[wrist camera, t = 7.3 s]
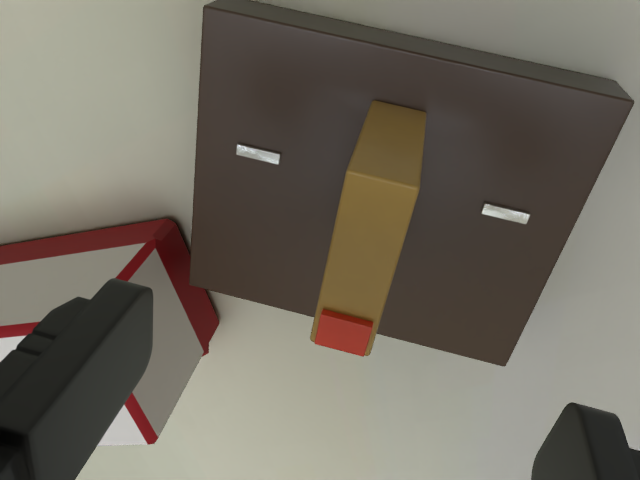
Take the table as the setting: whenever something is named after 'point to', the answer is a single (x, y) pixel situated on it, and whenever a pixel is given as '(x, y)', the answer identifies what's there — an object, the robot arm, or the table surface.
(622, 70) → the table surface
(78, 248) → the toy truck
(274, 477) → the table surface
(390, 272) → the thumbturn
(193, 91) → the table surface
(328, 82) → the lock plate
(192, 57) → the table surface
